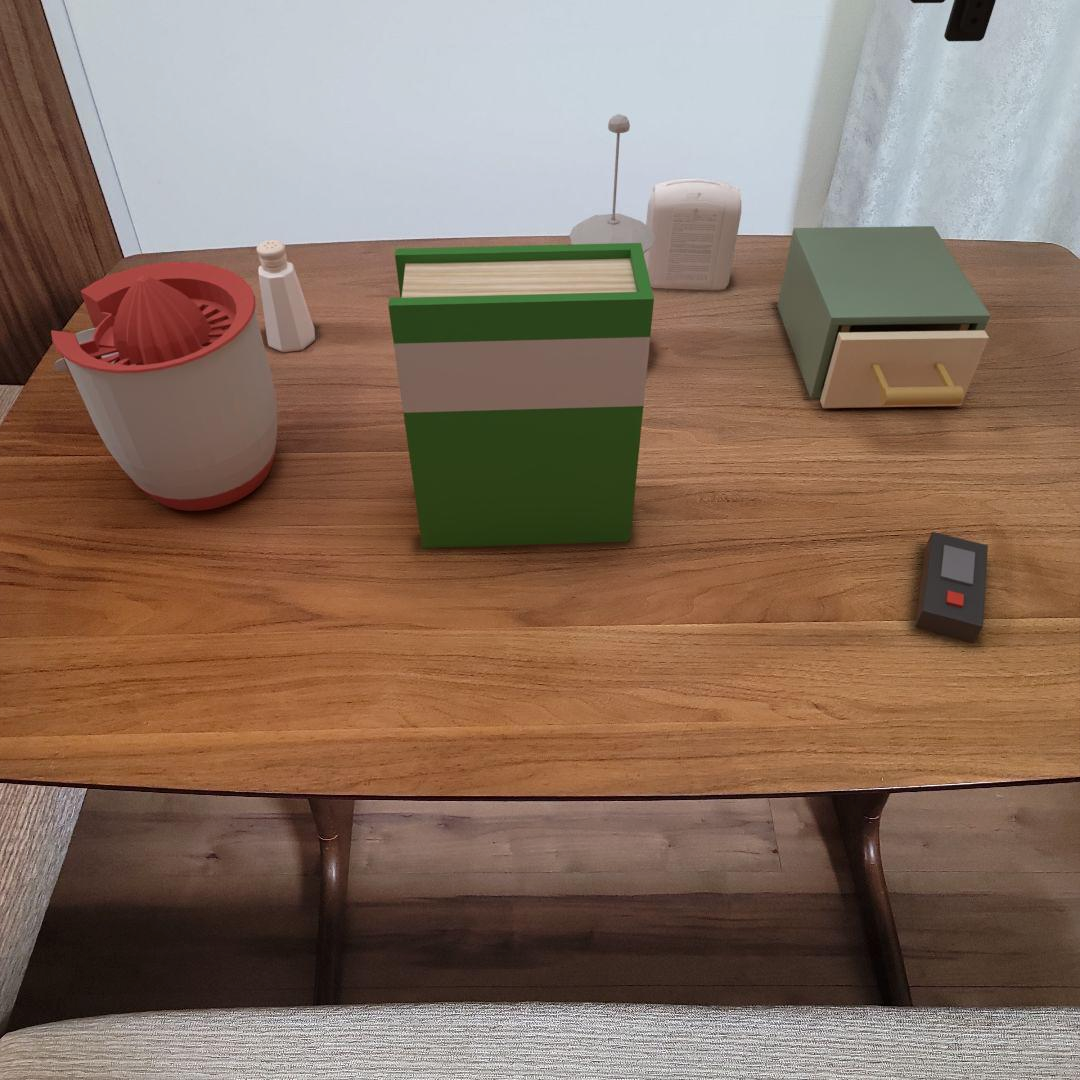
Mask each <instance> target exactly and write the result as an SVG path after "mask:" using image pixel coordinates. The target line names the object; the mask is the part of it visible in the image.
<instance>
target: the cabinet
mask: <svg viewBox="0 0 1080 1080" xmlns="http://www.w3.org/2000/svg"><path fill="white" fill-rule="evenodd" d="M936 229H937V228H936V227H935V226H933V225H921V226H919V225H918V226H916V225H914V226H913V225H912V226H849V227H848V226H846V227H844V226H842V227H841V226H840V227H835V226H834V227H794V228H793V229H792V234H791V239H790V243H789V247H788V252H787V258H786V261H785V267H784V272H783V277H782V282H781V287H780V291H779V295H778V301H777V305H776V306H777V309H778V311H779V315H780V317H781V320H782V323H783V325H784V328H785V331H786V334H787V337H788V339H789V342H790V345H791V348H792V351H793V353H794V356H795V359H796V361H797V364H798V368H799V370H800V373H801V376H802V378H803V382H804V384H805V386H806V387H805V388H806V389H807V390H806V391H807V393H808V396H809V399H821V395H822V392H823V388H824V383H823V382H824V378H825V375H826V371H827V367H828V364H829V360H830V356H831V352H832V349H833V345H834V341H835V338H836V334H837V330H838V327H839V325H894V324H962V323H969V324H970V325H969V328H968V330H967V331H979V330H984V331H986V328H987V325H988V322H989V320H990V317H991V314H990V312H989V311H988V309H987V307H986V306H985V304H984V302H983V301H982V299H981V297H980V296H979V295H978V293H977V291H976V290H975V289H974V287H973V286H972V284H971V282H970V281H969V279H968V278H967V276H966V275H965V273H964V271H963V270H962V268H961V267H960V265H959V264H958V262H957V260H956V259H955V257H954V256H953V254H952V253H951V251H950V250H949V248H948V246H947V245H946V243H945V242H944V240H943V239H942V237H941V235H940V233H938V231H937V230H936Z"/></svg>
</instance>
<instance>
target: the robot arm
mask: <svg viewBox="0 0 1080 1080" xmlns="http://www.w3.org/2000/svg"><path fill="white" fill-rule="evenodd" d="M910 2H911V3H913V4H942V3H945V2H946V0H910ZM996 2H997V0H953V3H952V6H951V10H950V14H949V16H948V21H947V24H946V28H945V30H944V35H943V38H944V39H945V40H946V41H947V42H980V41H982V40H983V39H984V38H985V36H986V32H987V30H988V27H989V23H990V20H991V17H992V14H993V11H994V7H995V5H996Z"/></svg>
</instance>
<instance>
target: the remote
mask: <svg viewBox="0 0 1080 1080" xmlns="http://www.w3.org/2000/svg"><path fill="white" fill-rule="evenodd" d="M930 533H931V534H930V535H929V538H928V540H927V543H926V545H925V547H924V550H923V558H922V565H921V574H920V581H919V589H918V597H917V605H916V612H915V619H914V620H915V621H914V628H915V629H918V630H922V631H926V632H930V633H933V634H936V635H940V636H943V637H944V636H945V637H947V638H950V639H951V638H952V639H956V640H958V641H959V640H960V641H963V642H967V643H970V644H974V643H975V641H976V639H977V638H978V635H979V634H980V633H981V630H982V629H983V626H984V613H985V599H986V598H985V597H986V584H987V583H986V581H987V569H988V568H987V567H988V565H987V564H988V551H989V545H988V544H984V543H980V542H977V541H976V542H975V541H972V540H968V539H964V538H960V537H956V536H951V535H948V534H944V533H939V532H935V531H932V532H930Z"/></svg>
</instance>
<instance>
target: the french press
mask: <svg viewBox="0 0 1080 1080" xmlns="http://www.w3.org/2000/svg"><path fill="white" fill-rule="evenodd" d="M630 127H631V124H630V120H629V118H628V117H627V116H626V115H623V114H620V113H617V114H615V115H613V116H612V117H610V118H609V121H608V124H607V129H608V131H610V132H611V133H614V134H616V144H615V145H616V146H615V159H614V161H615V163H614V179H613V197H612V212H611V213H606V214H595V215H593V216H591V217H588V218H586V219H584V220H582V221H581V222H579V223H577V224H576V225H574V226H573V227H572V229H571V230H570V233H569V240H570V244H613V243H641V244H642V249H643V253H645V252H646V251H647V250H649V249H650V248H651V247H652V246H653V243H654V240H655V236H654V233H653V231H652V229H650V228H649V227H648V226H646V223H644V222H643V221H641V220H639V219H636V218H633V217H630V216H628V215H625V214H622V213H616V206H617V205H616V203H617V190H618V189H617V187H618V170H619V151H620V137H621V134H625V133H628V132H629V131H630Z"/></svg>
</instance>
